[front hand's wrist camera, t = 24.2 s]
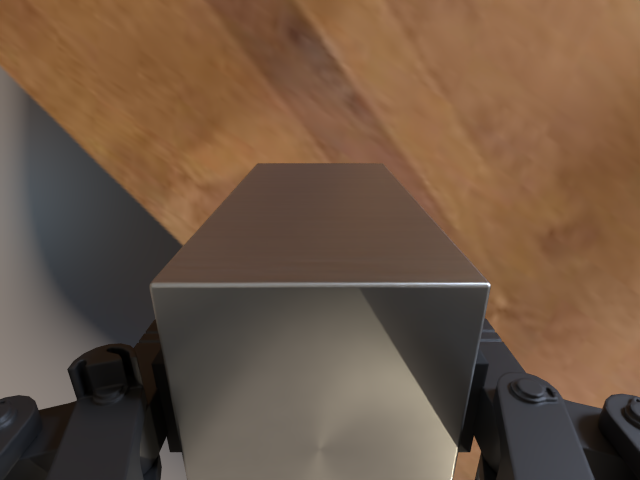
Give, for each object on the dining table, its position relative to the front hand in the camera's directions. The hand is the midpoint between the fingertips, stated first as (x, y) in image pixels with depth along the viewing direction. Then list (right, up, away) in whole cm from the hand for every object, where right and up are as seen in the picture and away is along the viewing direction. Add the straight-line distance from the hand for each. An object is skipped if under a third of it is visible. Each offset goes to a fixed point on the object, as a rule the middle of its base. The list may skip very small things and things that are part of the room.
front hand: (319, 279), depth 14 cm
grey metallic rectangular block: (0, +1, +4) cm, 4 cm away
